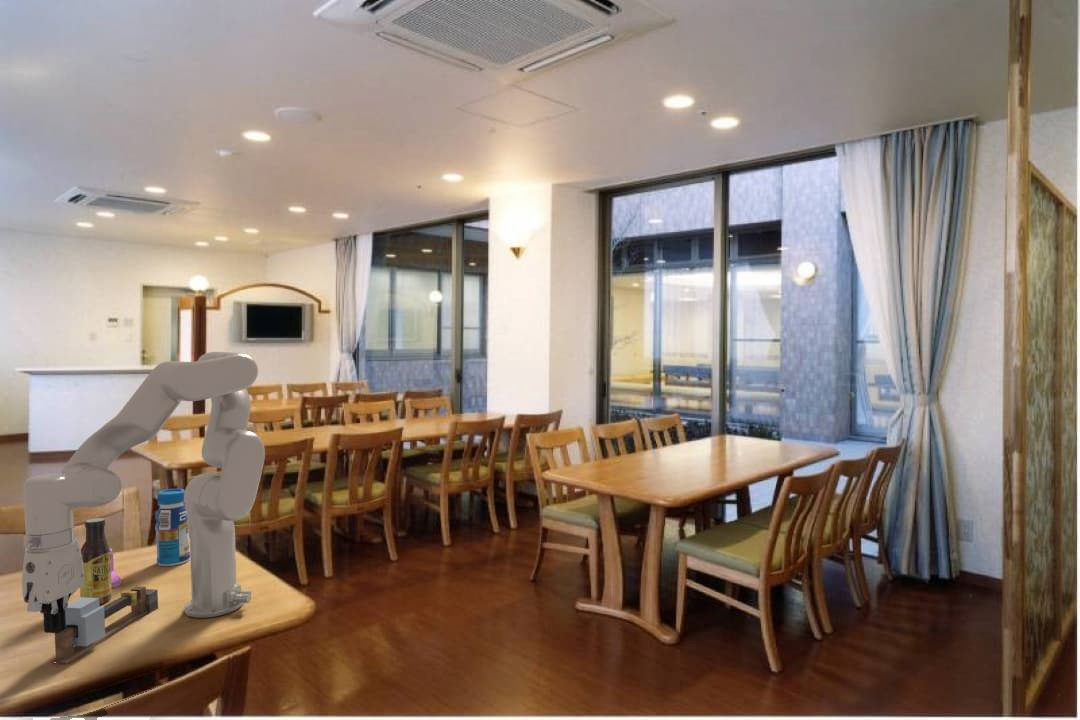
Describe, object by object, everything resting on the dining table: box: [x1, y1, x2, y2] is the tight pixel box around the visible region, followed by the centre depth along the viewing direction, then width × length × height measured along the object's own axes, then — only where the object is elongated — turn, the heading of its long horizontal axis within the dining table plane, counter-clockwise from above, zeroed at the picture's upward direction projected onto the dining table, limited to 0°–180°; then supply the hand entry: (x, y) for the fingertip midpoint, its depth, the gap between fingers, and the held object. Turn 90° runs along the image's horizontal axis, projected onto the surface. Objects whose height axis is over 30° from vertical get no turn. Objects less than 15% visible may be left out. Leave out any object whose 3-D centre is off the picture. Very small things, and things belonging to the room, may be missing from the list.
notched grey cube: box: [64, 597, 106, 646], centre depth 137 cm, size 6×5×8 cm
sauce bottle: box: [79, 517, 112, 605], centre depth 160 cm, size 6×6×20 cm
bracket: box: [109, 547, 122, 589], centre depth 174 cm, size 13×6×7 cm, turn 44°
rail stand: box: [52, 585, 159, 665], centre depth 145 cm, size 4×26×6 cm, turn 174°
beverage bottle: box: [154, 488, 190, 567], centre depth 187 cm, size 8×8×20 cm
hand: (55, 630), depth 131 cm, fingers closed
